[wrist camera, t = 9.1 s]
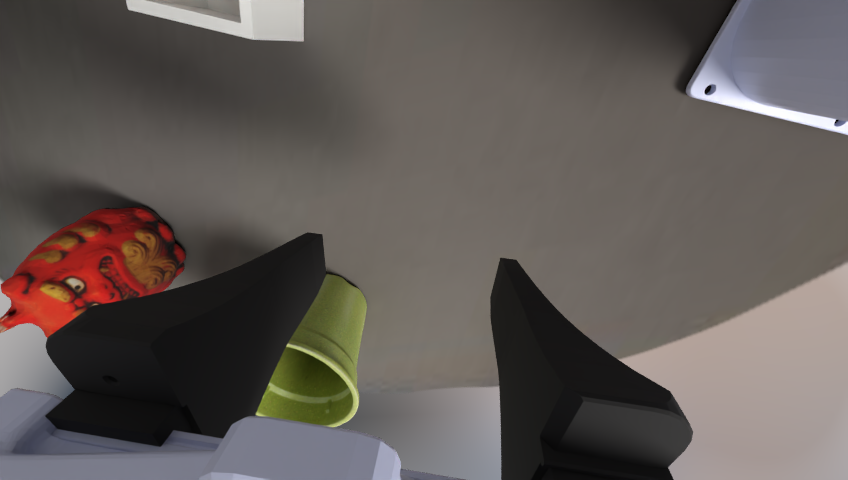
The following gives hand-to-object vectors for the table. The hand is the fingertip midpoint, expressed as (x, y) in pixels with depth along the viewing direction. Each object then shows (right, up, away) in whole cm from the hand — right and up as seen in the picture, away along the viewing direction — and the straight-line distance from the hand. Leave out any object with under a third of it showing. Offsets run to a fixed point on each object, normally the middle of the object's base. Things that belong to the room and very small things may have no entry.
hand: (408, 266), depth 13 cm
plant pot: (-7, -4, +15) cm, 18 cm away
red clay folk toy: (-22, +1, +14) cm, 27 cm away
